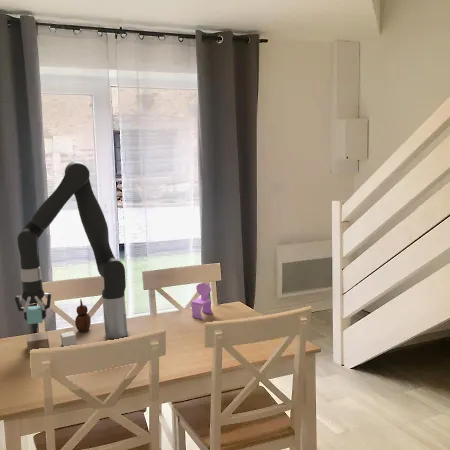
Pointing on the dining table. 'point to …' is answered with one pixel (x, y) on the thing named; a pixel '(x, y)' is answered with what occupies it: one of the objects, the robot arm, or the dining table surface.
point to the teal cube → (34, 315)
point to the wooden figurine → (82, 318)
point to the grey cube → (68, 338)
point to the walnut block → (37, 341)
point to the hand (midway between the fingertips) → (35, 319)
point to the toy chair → (201, 301)
